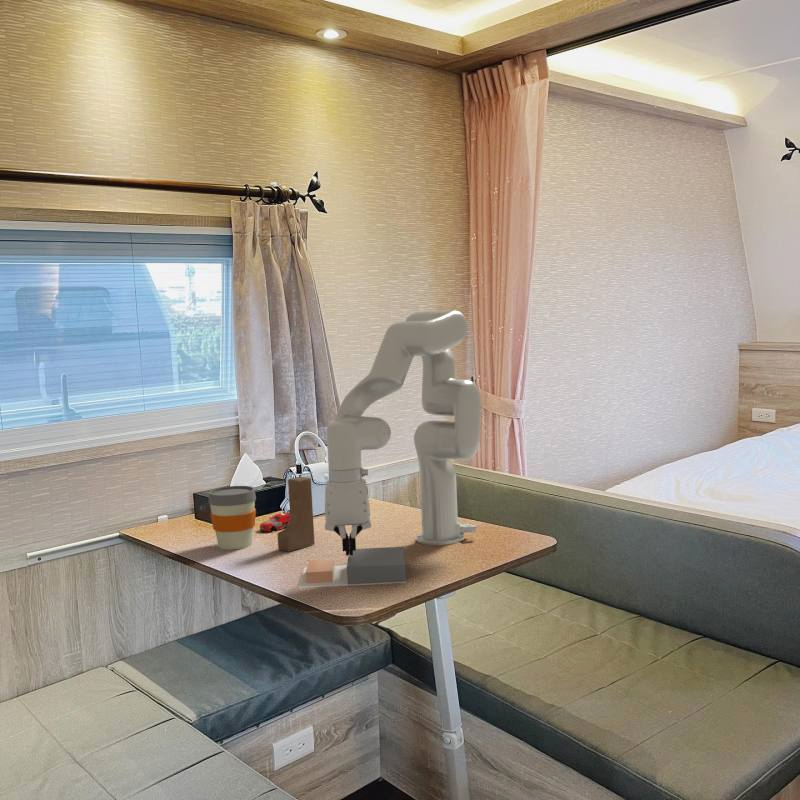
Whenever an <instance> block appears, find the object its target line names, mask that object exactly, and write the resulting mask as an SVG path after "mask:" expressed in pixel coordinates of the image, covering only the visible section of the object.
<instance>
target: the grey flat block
mask: <svg viewBox="0 0 800 800" xmlns="http://www.w3.org/2000/svg"><path fill="white" fill-rule="evenodd" d="M346 565H347V581H348V585H349V586H351V585H350V584H369V585H371V584H370V583H388V584H390V583H389V582H406V583H407V578H406V577H407V576H406V574H407V572H406V557H405V547H404V546H389V547H373V548H372V547H367V548H356V551H353V555H350V551H349V555H348V557H347V563H346Z"/></svg>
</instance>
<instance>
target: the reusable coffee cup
mask: <svg viewBox="0 0 800 800" xmlns="http://www.w3.org/2000/svg"><path fill="white" fill-rule="evenodd" d="M256 500H257V496H256V491H255V487H254V486H250V485H230V486H222V487H218V488H214V489H211V490H209V492H208V504H209V505H210V518H211V523H212V529H213V530H214V531H215V536H216V542H217V546H218V548H219V549H220V548H221V549H220V550H224V549H225V550H224V551H234V550H233V549H237V550H242V549H241V548H243V549H246V548H248V546H249V547H251V546H252V545H253V540H254V538H253V536H254V527H255V526H256V517H257V516H256V515H257V509H256V508H255V506H256V504H255V503H256ZM250 545H251V546H250ZM245 547H246V548H245Z"/></svg>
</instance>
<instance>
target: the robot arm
mask: <svg viewBox="0 0 800 800" xmlns="http://www.w3.org/2000/svg"><path fill="white" fill-rule="evenodd" d="M468 329H469V328H468V321H467V318H466V317H465V315H464V314H463V313H462V312H461V311H458V310H431V311H430V310H429V311H427V310H426V311H419V312H414V313H412V314H410V315H408V316H407V318H406V320H405V321H399V322H394V323H392V324H391V325H390V326H389V327H388V328H387V329H386V331H385V334H384V336H383V338H382V341H381V343H380V346H379V349H378V351H377V354H376V356H375V359H374V361H373V362H372V363H373V364H372V367H371V369H370V371H369V373H368V375H366V376H365V377H364V378H363V379H361V380H360V381H359V382H358V383H357V384H356V385H355V386H354V387H353V388H352V389H351V390H350V391H349V392H348V393H347V394H346V395H345V396H344V398H343V399H342V402H341V404H340V406H339V409H338V411H337V414H336V416H335V419H334V422H331V423H329V424H328V425H327V427H326V443H327V444H326V445H327V446H326V447H327V460H328V461H327V462H328V463H327V464H328V465H327V466H328V480H327V481H326V482H325V492H324V516H325V518H324V520H325V524H324V530H325V531H330V532H334V533H336V535H338V536H339V537H340V538H341V539H342V540H341V542H342V544H341V545H342V552H345V557H346V556H348V555H349V551H350V555H353V551H356V549H357V546H356V545H357V543H356V537H357V536H358V535H359V534H360V532H361V531H364V530H367V529H371V527H372V521H371V517H370V516H371V509H370V499H369V491H368V490H369V489H368V483H367V481H366V479H365V478H364V477H365V476H368V475H369V469H365V468H364V467H362V451H367V450H368V451H369V450H378V449H381V448H383V447H385V446H386V445H387V444H388V443H389V441H390V439H391V435H392V431H391V427H390V425H389V424H388V422H387V421H386V420H384V419H383V418H379V417H375V416H363V414H364V413H365V412H366V410H367V409H368V408H369V407H370V406H371V405H373V404H374V403H375V402H376V401H379V400H382V399H383V398H385V397H388V396H390V395H391V394H393V393H395V392H398V391H399V390H400V389H401V388H402V387H403V386H404V382H405V381H406V377H407V375H408V373H409V372H408V371H409V370H410V367H411V364H412V361H413V359H414V358H415V357H421V361H422V381H421V382H422V385H421V387H422V388H421V407H422V409H423V410H424V412H425V413H427V414H429V415H430V416H431V415H432V416H441V417H454V421H448V420H447V421H445V420H428V421H424V422H422V423H420V424H419V425H417V428H416V429H415V430H414V431H415V432H414V435H413V436H414V437H413V441H414V442H413V443H414V447H415V452H416V456H417V460H418V468H419V470H418V471H419V472H418V473H419V487H420V489H419V491H420V512H421V513H420V514H421V532H419V533H418V534H417V535H416V541H417V542H418V543H420V544H422V545H427V546H428V545H429V546H448V545H449V546H450V545H453V544H459V543H461V542H463V541H464V540H465V533H477V532H476V531H477V527H476V526H477V525H476V524H471V523H464V524H463V523H460V521H459V518H458V517H459V516H458V498H457V497H458V495H457V473H456V469H455V467H454V464H453V462H452V460H451V459H453V460H463V461H465V460H467V461H468V460H471V459H472V458H473V457H475V456H476V454H478V453H477V452H478V450H479V447H480V437H481V421H482V420H481V419H482V418H481V417H482V397H481V396H482V395H481V392H480V389H479V388H478V385H476V382H473V381H471V380H468V379H457V378H456V359H455V355H454V354H453V351H452V350H451V348H453V347H455V346H457V345H459V344H461V343H462V342H464V339H465V338H466V336H467V334H468ZM346 526H351V531H350V533H349V535H348V533H347V530H346ZM462 540H463V541H462ZM458 542H459V543H458Z"/></svg>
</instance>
